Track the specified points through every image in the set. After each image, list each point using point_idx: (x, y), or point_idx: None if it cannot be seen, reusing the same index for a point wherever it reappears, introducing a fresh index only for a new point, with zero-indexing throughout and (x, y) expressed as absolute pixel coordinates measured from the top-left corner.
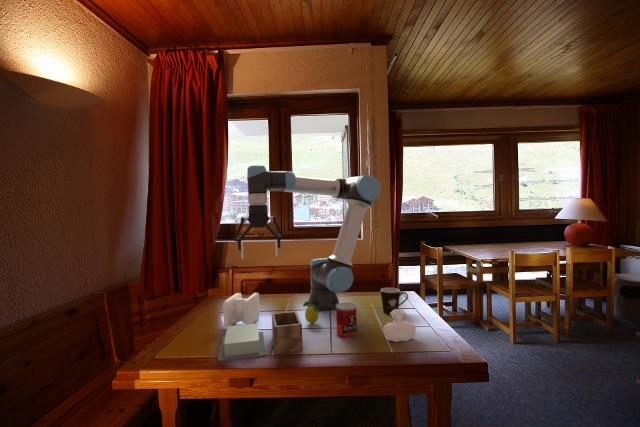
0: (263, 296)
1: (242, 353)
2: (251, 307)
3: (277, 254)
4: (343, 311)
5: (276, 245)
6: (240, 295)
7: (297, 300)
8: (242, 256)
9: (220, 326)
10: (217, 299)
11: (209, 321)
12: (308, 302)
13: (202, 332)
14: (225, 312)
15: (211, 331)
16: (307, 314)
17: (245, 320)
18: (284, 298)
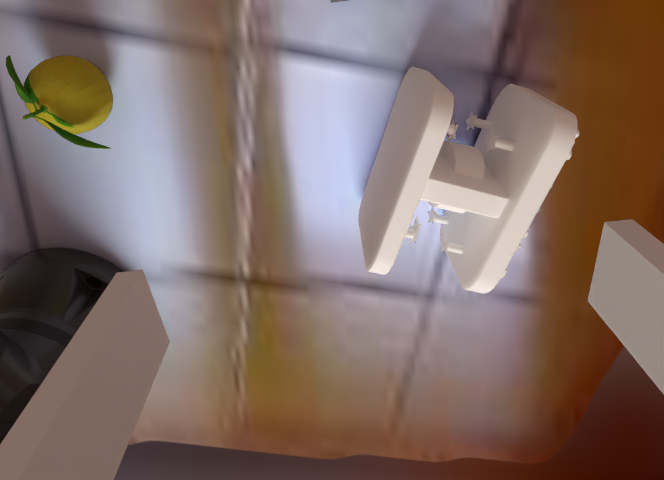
0: (355, 437)
1: None
2: (402, 137)
3: (110, 290)
4: None
5: (51, 398)
6: (470, 271)
7: (206, 380)
8: (637, 236)
9: None
10: (537, 430)
11: (581, 202)
12: (57, 128)
13: (620, 68)
14: (546, 101)
15: (578, 73)
16: (83, 72)
17: (426, 72)
18: (265, 407)
